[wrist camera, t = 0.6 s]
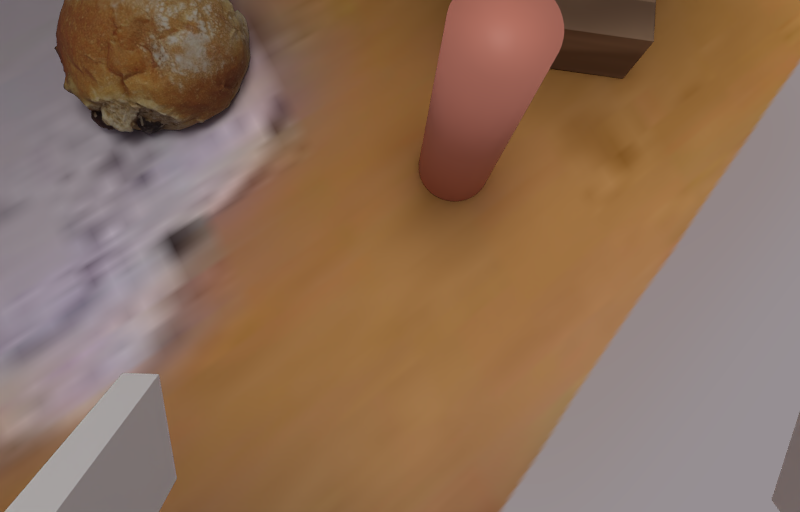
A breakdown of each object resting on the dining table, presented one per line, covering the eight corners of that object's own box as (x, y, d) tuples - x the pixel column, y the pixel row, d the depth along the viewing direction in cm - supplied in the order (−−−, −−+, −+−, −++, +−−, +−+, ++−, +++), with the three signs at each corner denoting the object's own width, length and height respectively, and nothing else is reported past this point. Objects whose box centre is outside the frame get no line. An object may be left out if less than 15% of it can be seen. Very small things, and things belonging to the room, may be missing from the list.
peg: (409, 145, 34) (430, -11, 20) (475, 126, 34) (540, -40, 20) (431, 209, 33) (468, 94, 19) (498, 190, 33) (581, 62, 20)
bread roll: (276, 110, 38) (301, 9, 31) (136, 185, 32) (129, 81, 25) (174, 9, 39) (177, -109, 32) (21, 64, 33) (-14, -66, 26)
